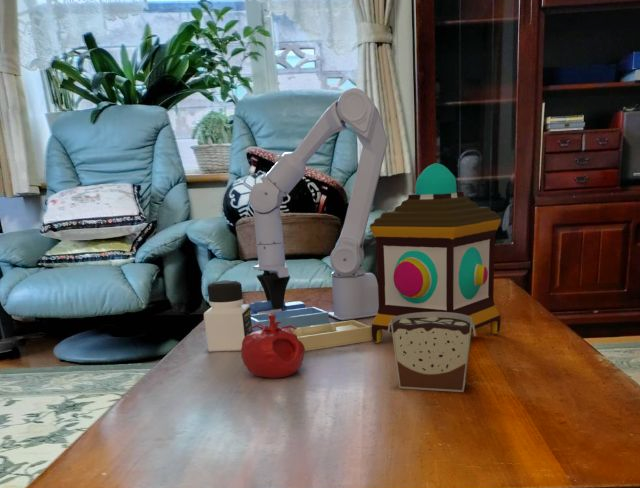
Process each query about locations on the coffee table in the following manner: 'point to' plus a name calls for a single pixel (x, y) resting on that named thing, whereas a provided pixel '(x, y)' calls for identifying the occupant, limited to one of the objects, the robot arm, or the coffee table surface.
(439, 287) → the decorative lantern
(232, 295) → the medicine bottle
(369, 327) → the cream bin
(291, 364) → the pomegranate
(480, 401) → the coffee table surface
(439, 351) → the food container
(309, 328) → the pale yellow bar
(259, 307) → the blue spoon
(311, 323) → the blue bin
